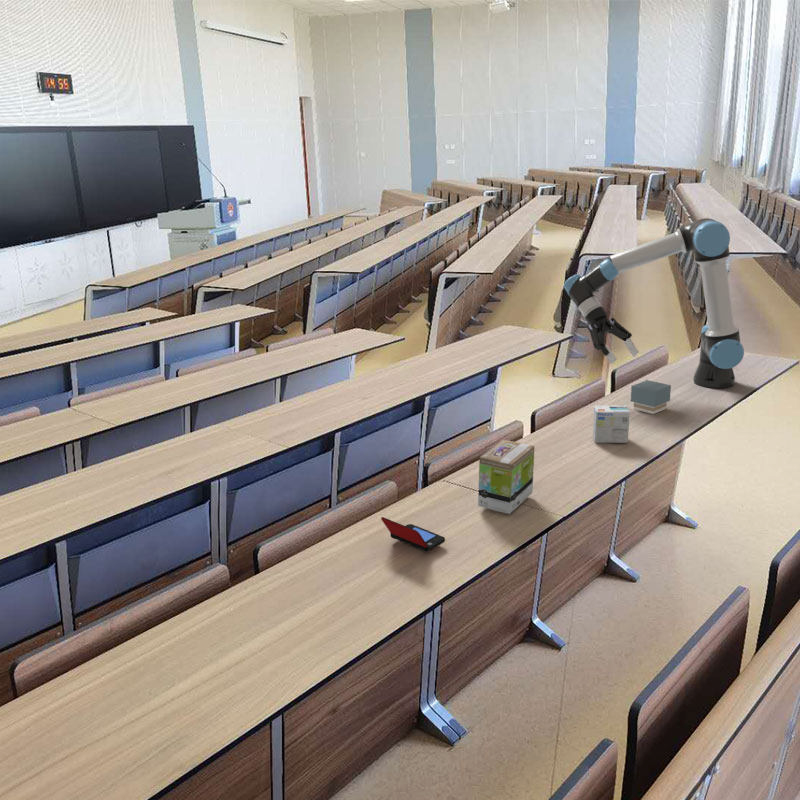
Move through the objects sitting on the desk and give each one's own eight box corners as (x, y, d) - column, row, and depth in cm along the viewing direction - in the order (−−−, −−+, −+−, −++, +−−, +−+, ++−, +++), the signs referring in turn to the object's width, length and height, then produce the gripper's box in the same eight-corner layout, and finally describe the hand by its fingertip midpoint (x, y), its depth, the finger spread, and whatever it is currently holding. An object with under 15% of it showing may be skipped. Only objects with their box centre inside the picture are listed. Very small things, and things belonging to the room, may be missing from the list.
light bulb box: (624, 435, 256) (627, 404, 253) (628, 443, 250) (630, 411, 246) (591, 435, 257) (593, 404, 254) (594, 443, 251) (596, 411, 247)
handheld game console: (447, 542, 193) (446, 515, 191) (418, 559, 186) (417, 531, 183) (409, 526, 201) (408, 500, 199) (380, 542, 194) (379, 516, 191)
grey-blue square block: (646, 395, 286) (647, 380, 284) (669, 400, 278) (670, 385, 277) (630, 401, 280) (631, 385, 278) (654, 407, 273) (655, 391, 271)
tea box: (511, 515, 205) (512, 464, 200) (477, 507, 210) (477, 456, 206) (533, 493, 217) (535, 444, 212) (500, 485, 222) (501, 437, 217)
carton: (646, 403, 285) (647, 383, 283) (666, 408, 279) (667, 387, 277) (633, 409, 281) (634, 387, 278) (653, 414, 275) (654, 392, 272)
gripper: (607, 312, 300) (638, 357, 293) (565, 323, 285) (597, 370, 278) (619, 300, 294) (651, 345, 288) (578, 310, 279) (611, 358, 273)
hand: (625, 358), depth 283 cm, fingers open, 13 cm apart
